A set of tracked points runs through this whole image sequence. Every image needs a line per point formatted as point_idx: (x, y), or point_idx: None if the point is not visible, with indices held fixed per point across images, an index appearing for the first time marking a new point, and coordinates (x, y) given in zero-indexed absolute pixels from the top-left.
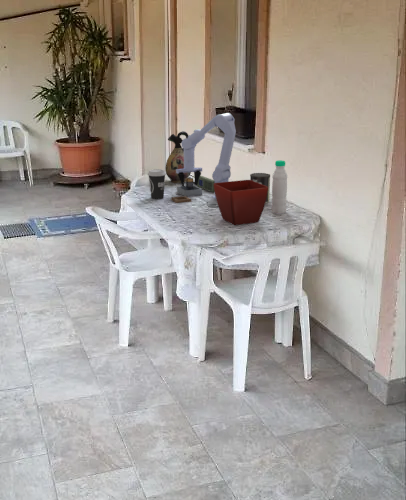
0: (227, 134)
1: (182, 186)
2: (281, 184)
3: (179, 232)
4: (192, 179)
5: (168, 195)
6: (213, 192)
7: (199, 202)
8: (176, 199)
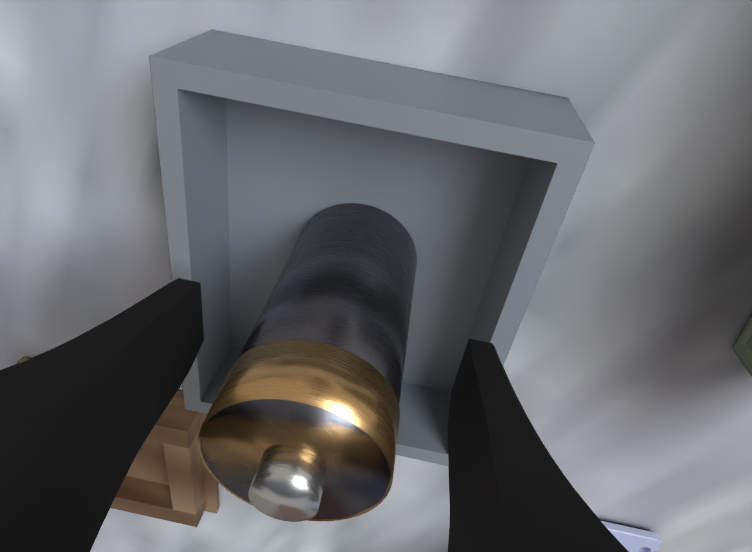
0: None
1: (279, 106)
2: None
3: None
4: (334, 512)
5: (24, 133)
6: (738, 354)
7: (274, 534)
8: None
